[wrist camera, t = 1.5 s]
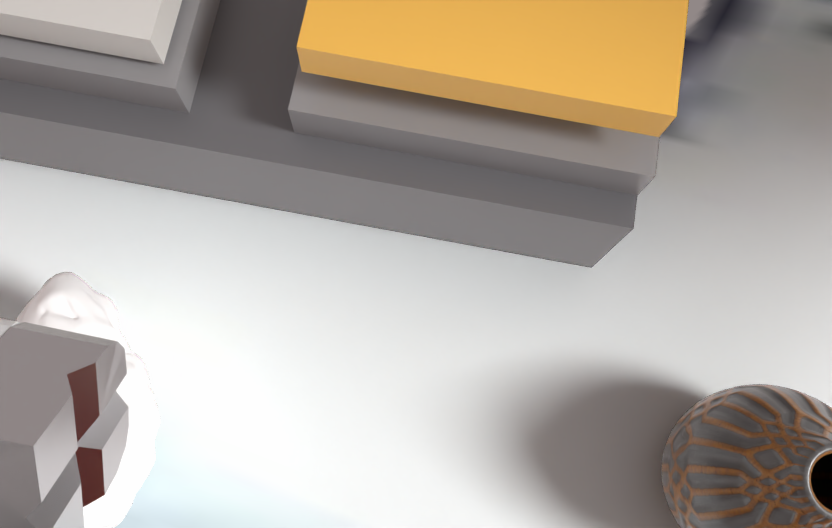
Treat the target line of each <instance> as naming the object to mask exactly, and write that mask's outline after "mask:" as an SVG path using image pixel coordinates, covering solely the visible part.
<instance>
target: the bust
mask: <svg viewBox="0 0 832 528" xmlns="http://www.w3.org/2000/svg"><path fill="white" fill-rule="evenodd" d="M16 321H18V322H21V323H23V322H27V323H32V324H37V325H41V326H46V327H51V328H56V329H61V330H65V331H70V332H75V333H80V334H85V335H90V336H94V337H99V338H104V339H109V340H114V341H118V342H119V343H120V344H121V345H122V346H123V347H124V348H125V356H126V368H127V374H126V376H125V377H124V379H123V381H122V382H121V384H120V385H119V387H118V388H117V390H116V392H117V393H118V394H119V395H120V397H121V398H122V399H123V401H124V402H125V403H126V404H127V406H128V410H129V428H128V435H127V442H126V447H125V450H124V453H123V456H122V459H121V462H120V465H119V468H118V471H117V474H116V475H115V477H114V479H113V481H112V483H111V485H110V486H109V488H108V490H107V492H106V494H105V495H104V496H102V497H100V498H99V499H97V500H95V501H93V502H92V503H90V504H88V505H86V506H85V507H83V516H84V528H114V527H115V526H117V525H118V524H120V523H121V521H122V520H123V519H124V517H125V516H126V514H127V512H128V511H129V509H130V507H131V505H132V504H133V501H134V498H135V494H136V493H137V492H138V491H139V490H140V488H141V486H142V484H143V482H144V481H145V479H146V478H147V477H148V476H149V473H150V470H151V468H152V467H153V465H154V463H155V443H154V442H155V437H156V434H157V430H158V428H159V425H160V415H159V412H158V405H157V403H156V402H155V399H154V393H153V391H152V389H151V388H150V379H149V375H148V371H147V368H146V366H145V363H144V361H143V359H142V358H141V357H140V356H138V355H137V354H136V353H134V352H132V351H131V349H130V346H129V344H128V342H127V341H126V339H125V337H124V336H123V335H122V333H121V330H120V326H119V320H118V310H117V307H116V306H115V304H114V303H113V301H112V300H111V299H110V298H108V297H107V296H105V295H103V294H100V293H98V292H96V291H95V290H93V289H92V288H91V286H90V285H88V284H87V283H86V282H85V281H84V280H83V279H82V278H80V277H79V276H77V275H76V274H74V273H72V272H62V273H59V274H56V275H54V276H53V277H52V278H50V279H48V280H47V281H46V282H45V284H44V285H43V287H42V288H41V290H39V291H38V293H37V294H36V295H35V296H34V297H33V298H32V299H31V300H30V301H29V302H28V303H27V305H26V306H25V307H24V309H23V310H22V311H21V313H20V314H19V316H18V318H17V320H16Z"/></svg>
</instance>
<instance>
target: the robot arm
mask: <svg viewBox="0 0 832 528" xmlns="http://www.w3.org/2000/svg"><path fill="white" fill-rule="evenodd" d="M126 374H127V368H126V356H125V348H124V347H123V346H122V345H121V344H120V343H119V342H118V341H114V340H109V339H104V338H99V337H94V336H90V335H85V334H80V333H75V332H70V331H65V330H61V329H56V328H51V327H46V326H41V325H37V324H32V323H27V322H23V323H21V322H18V321H13V320H8V319H3V318H0V528H84V516H83V507H85V506H86V505H88V504H90V503H92V502H93V501H95V500H97V499H99V498H100V497H102V496H104V495H105V494H106V492H107V490H108V488H109V486H110V485H111V483H112V481H113V479H114V477H115V475H116V474H117V471H118V468H119V465H120V462H121V459H122V456H123V453H124V450H125V447H126V442H127V435H128V428H129V410H128V406H127V404H126V403H125V402H124V401H123V399H122V398H121V397H120V395H119V394H118V393H117V392H116V390H117V388H118V387H119V385H120V384H121V382H122V381H123V379H124V377H125V376H126Z"/></svg>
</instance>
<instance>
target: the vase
mask: <svg viewBox="0 0 832 528" xmlns="http://www.w3.org/2000/svg"><path fill="white" fill-rule="evenodd" d="M662 484H663V489H664V493H665V497H666V500H667V503H668V505H669V508H670V510H671V512H672V514H673V516H674V518H675V519H676V521H677V523H678V524H679V526H680V527H681V528H832V408H831V407H829V406H828V405H826V404H824V403H823V402H821V401H819V400H817V399H815V398H813V397H811V396H809V395H807V394H804V393H802V392H799V391H796V390H792V389H789V388H785V387H780V386H774V385H763V384H754V385H744V386H737V387H733V388H729V389H725V390H722V391H719V392H717V393H714V394H712V395H710V396H708V397H706V398H704V399H702V400H700V401H699V402H698V403H696V404H695V405H693V406H692V407H691V408H690V409H689V410H688V411H687V412H686V413H685V414H684V415H683V416H682V417H681V418H680V419H679V421H678V422H677V423H676V425H675V426H674V428H673V430H672V431H671V433H670V435H669V438H668V440H667V443H666V446H665V449H664V453H663V458H662Z"/></svg>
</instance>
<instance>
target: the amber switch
mask: <svg viewBox="0 0 832 528" xmlns="http://www.w3.org/2000/svg"><path fill="white" fill-rule="evenodd" d="M688 4H689V0H308V1H307V5H306V10H305V14H304V18H303V22H302V26H301V30H300V34H299V38H298V42H297V46H296V47H297V52H298V57H299V61H300V66H301V70H302V72H306V73H312V74H317V75H323V76H328V77H334V78H339V79H344V80H350V81H355V82H361V83H366V84H372V85H377V86H383V87H388V88H394V89H399V90H404V91H410V92H415V93H421V94H426V95H432V96H437V97H443V98H448V99H454V100H459V101H464V102H470V103H475V104H481V105H486V106H492V107H497V108H503V109H508V110H514V111H519V112H524V113H530V114H535V115H541V116H546V117H552V118H557V119H563V120H568V121H574V122H579V123H584V124H590V125H595V126H601V127H606V128H612V129H617V130H623V131H628V132H634V133H639V134H644V135H650V136H655V137H660V135H661V134H662V133H663V132H664V131H665V130H666V128H667V127H668V126H669V125H670V124H671V123H672V121H673V120H674V119H675V118H676V117H677V108H678V99H679V89H680V80H681V70H682V61H683V51H684V42H685V32H686V23H687V13H688Z"/></svg>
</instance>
